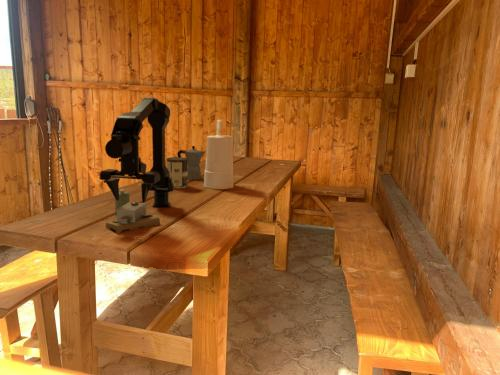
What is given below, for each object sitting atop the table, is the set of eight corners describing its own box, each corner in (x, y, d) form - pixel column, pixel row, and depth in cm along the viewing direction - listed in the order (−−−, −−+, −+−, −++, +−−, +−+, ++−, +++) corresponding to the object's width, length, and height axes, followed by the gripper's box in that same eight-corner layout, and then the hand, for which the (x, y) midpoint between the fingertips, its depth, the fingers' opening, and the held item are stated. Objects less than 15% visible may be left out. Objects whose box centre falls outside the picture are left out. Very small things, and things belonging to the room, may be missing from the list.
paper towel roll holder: (237, 188, 194) (239, 121, 187) (208, 189, 189) (209, 120, 182) (227, 182, 208) (229, 119, 201) (200, 183, 202) (201, 118, 196)
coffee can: (182, 183, 200) (182, 156, 198) (191, 187, 192) (191, 159, 189) (163, 185, 195) (163, 157, 192) (171, 189, 186) (171, 160, 184)
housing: (132, 224, 123) (132, 210, 122) (114, 223, 123) (113, 209, 122) (148, 212, 137) (147, 200, 136) (131, 211, 137) (131, 199, 136)
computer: (148, 220, 139) (147, 211, 138) (160, 225, 133) (160, 216, 132) (105, 229, 128) (105, 219, 127) (117, 235, 122) (116, 225, 121)
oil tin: (116, 212, 144) (116, 188, 143) (130, 212, 145) (130, 188, 143) (114, 216, 140) (113, 191, 138) (128, 216, 140) (128, 191, 138)
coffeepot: (204, 176, 223) (204, 145, 219) (205, 179, 214) (206, 147, 210) (176, 176, 220) (176, 144, 216) (177, 179, 211) (177, 146, 207)
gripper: (166, 153, 132) (166, 198, 135) (114, 150, 135) (116, 194, 138) (153, 157, 121) (153, 205, 124) (97, 154, 124) (99, 201, 127)
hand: (130, 201), depth 129 cm, fingers open, 9 cm apart
